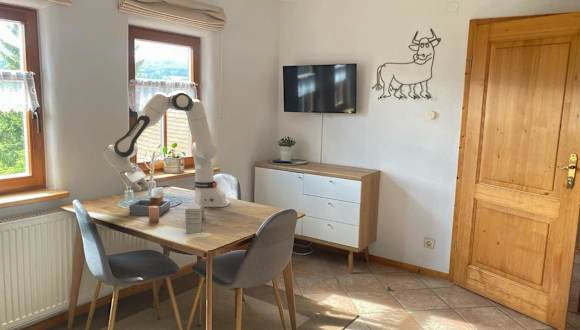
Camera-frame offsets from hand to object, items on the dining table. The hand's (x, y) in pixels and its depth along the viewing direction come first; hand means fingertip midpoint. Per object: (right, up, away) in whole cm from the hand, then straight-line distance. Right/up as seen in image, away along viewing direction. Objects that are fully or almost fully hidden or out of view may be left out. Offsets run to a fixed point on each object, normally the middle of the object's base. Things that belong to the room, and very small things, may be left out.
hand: (144, 187), depth 249 cm
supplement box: (+35, -20, -30) cm, 50 cm away
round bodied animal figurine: (+31, -17, -11) cm, 37 cm away
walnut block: (+6, -13, +2) cm, 15 cm away
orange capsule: (+11, -17, -16) cm, 26 cm away
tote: (+3, -14, +2) cm, 14 cm away
